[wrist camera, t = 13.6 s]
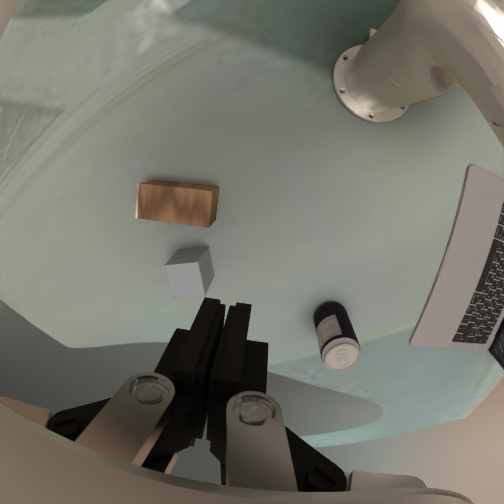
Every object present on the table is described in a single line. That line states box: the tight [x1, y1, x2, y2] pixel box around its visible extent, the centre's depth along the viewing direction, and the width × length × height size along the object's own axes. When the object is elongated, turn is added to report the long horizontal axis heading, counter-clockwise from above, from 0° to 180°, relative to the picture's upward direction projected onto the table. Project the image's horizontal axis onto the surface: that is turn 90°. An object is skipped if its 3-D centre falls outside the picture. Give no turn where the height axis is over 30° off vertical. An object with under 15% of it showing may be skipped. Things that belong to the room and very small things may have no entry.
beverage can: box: [314, 303, 360, 371], centre depth 44 cm, size 6×6×12 cm
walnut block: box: [136, 180, 219, 228], centre depth 42 cm, size 5×5×11 cm
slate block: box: [164, 246, 214, 298], centre depth 45 cm, size 5×5×7 cm
